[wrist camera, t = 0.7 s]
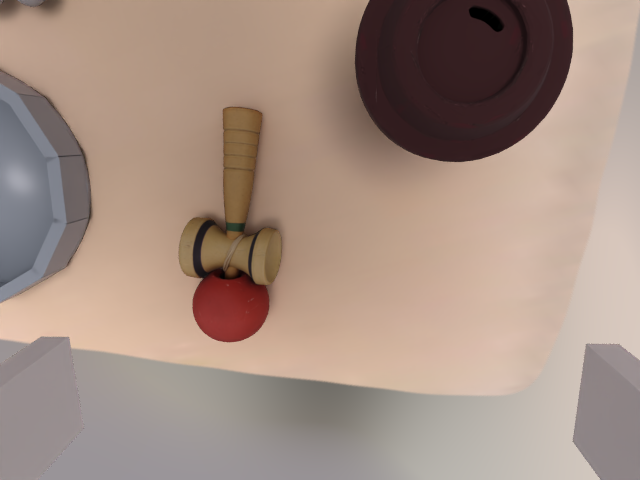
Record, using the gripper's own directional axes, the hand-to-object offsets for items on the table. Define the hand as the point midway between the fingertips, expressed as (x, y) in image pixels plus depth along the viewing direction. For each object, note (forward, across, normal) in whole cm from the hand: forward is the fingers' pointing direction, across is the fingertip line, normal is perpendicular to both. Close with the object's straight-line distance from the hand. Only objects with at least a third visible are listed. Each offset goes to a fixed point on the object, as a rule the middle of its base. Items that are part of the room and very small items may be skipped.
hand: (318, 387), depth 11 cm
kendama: (+26, -8, -1) cm, 27 cm away
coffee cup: (+26, +6, +10) cm, 28 cm away
